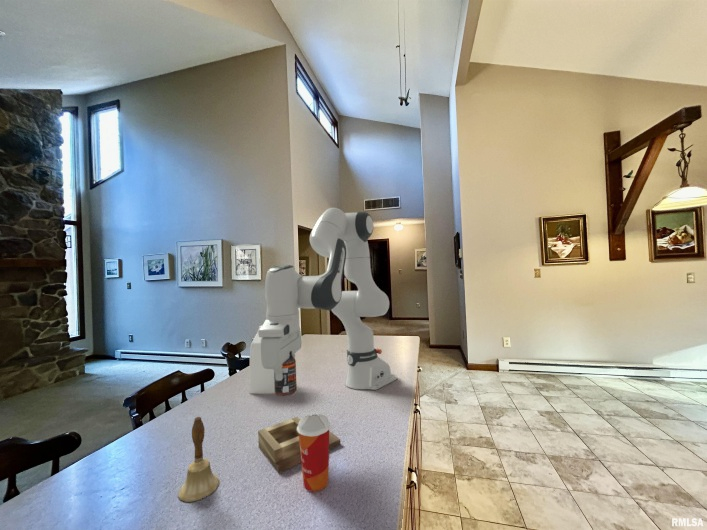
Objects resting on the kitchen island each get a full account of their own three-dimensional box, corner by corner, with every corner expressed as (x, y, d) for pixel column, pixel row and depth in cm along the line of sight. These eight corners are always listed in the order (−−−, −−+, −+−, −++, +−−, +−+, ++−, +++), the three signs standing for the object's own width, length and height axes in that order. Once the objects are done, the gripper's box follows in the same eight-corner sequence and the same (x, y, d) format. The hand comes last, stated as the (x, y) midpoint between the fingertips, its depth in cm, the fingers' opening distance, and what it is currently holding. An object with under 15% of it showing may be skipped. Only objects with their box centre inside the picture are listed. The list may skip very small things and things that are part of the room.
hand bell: (225, 474, 73) (222, 408, 73) (209, 501, 64) (207, 426, 65) (190, 477, 72) (187, 410, 73) (170, 503, 64) (167, 428, 64)
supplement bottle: (291, 397, 79) (289, 354, 79) (270, 396, 80) (268, 354, 80) (300, 388, 85) (298, 348, 85) (280, 387, 86) (278, 348, 86)
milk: (287, 382, 132) (284, 322, 132) (277, 393, 120) (275, 328, 120) (260, 382, 133) (258, 323, 133) (249, 393, 121) (246, 328, 122)
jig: (315, 424, 94) (315, 410, 94) (340, 444, 83) (339, 428, 83) (258, 447, 84) (258, 430, 84) (278, 473, 72) (277, 454, 72)
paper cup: (300, 473, 72) (298, 414, 72) (332, 469, 73) (330, 411, 73) (297, 497, 64) (294, 431, 64) (333, 493, 65) (330, 428, 65)
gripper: (286, 318, 93) (287, 362, 93) (255, 332, 73) (257, 389, 73) (305, 317, 93) (307, 362, 92) (279, 331, 72) (281, 389, 72)
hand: (285, 374), depth 83 cm, fingers closed on supplement bottle, 6 cm apart
